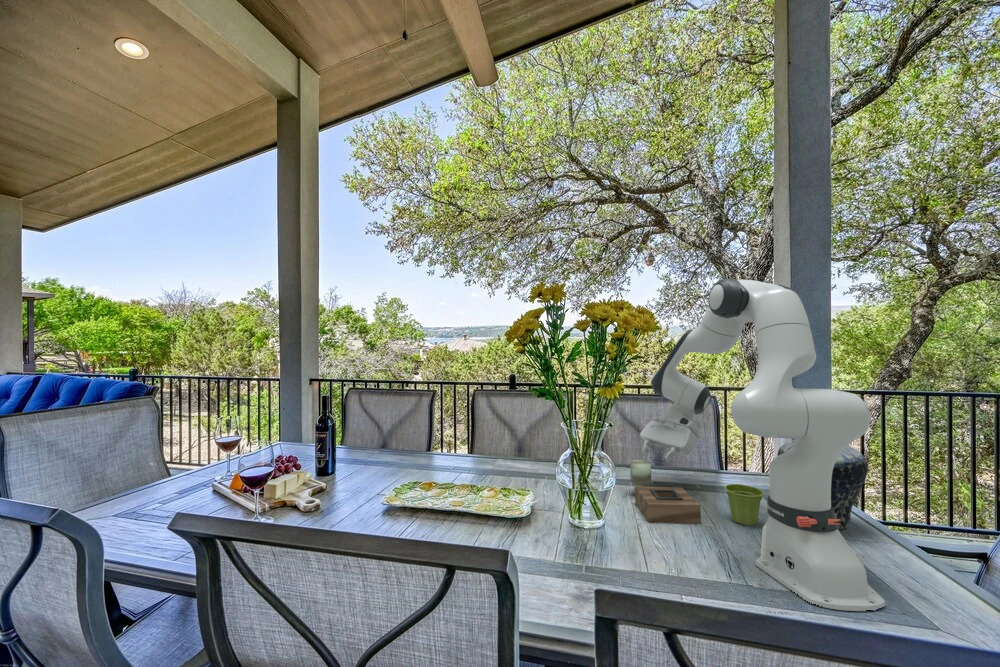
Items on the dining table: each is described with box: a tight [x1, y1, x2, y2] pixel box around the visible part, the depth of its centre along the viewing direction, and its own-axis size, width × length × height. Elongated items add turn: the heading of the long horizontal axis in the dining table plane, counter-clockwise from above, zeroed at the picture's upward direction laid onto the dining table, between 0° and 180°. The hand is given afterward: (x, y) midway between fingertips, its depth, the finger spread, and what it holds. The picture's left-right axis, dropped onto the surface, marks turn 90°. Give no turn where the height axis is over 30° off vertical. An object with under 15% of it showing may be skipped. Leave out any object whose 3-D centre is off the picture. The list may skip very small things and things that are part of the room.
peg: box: [629, 459, 652, 492], centre depth 137 cm, size 6×6×10 cm
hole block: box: [634, 486, 702, 524], centre depth 122 cm, size 14×14×5 cm
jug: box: [776, 438, 869, 530], centre depth 115 cm, size 21×19×30 cm
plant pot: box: [724, 483, 765, 526], centre depth 116 cm, size 9×9×9 cm
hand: (654, 455), depth 139 cm, fingers open, 8 cm apart
